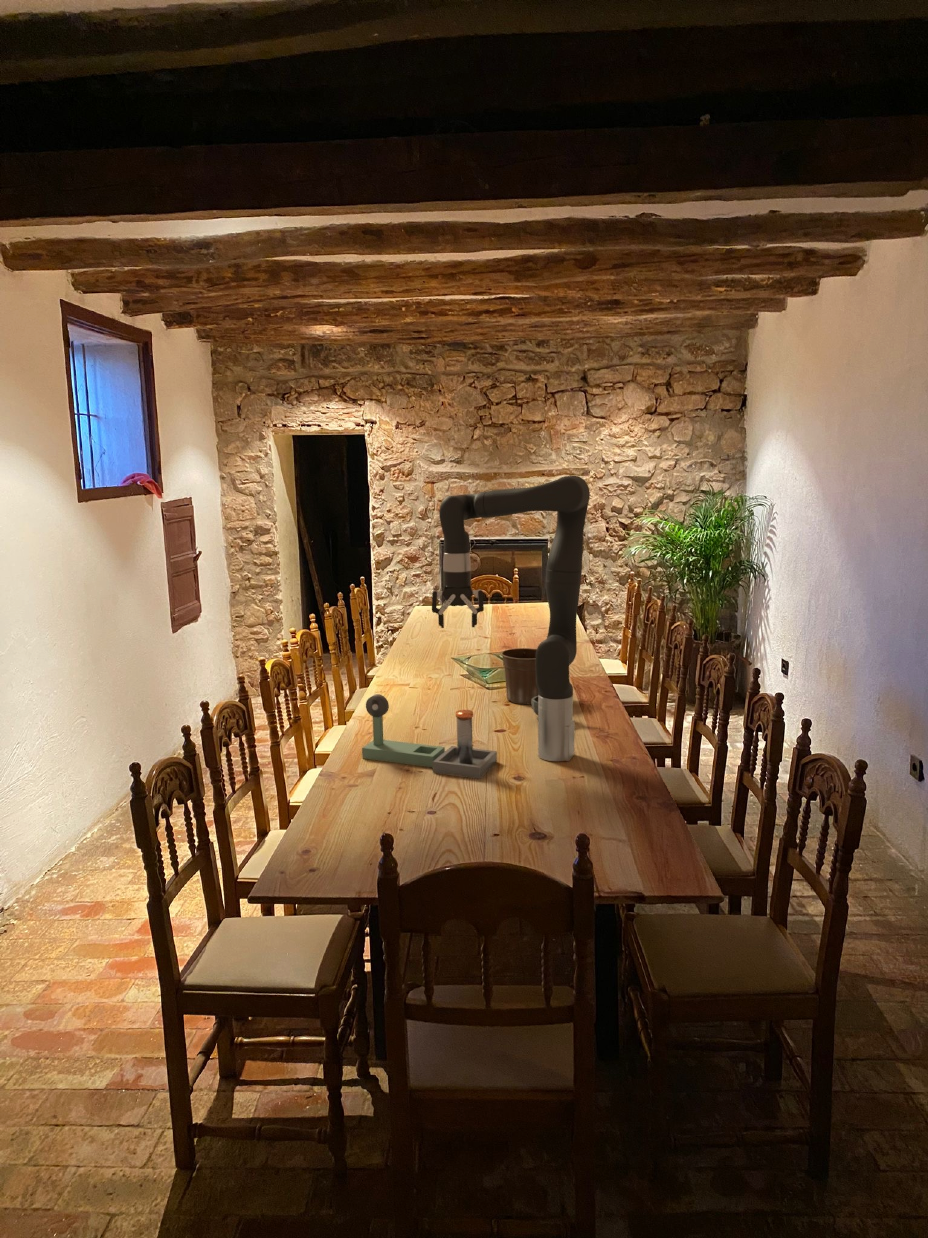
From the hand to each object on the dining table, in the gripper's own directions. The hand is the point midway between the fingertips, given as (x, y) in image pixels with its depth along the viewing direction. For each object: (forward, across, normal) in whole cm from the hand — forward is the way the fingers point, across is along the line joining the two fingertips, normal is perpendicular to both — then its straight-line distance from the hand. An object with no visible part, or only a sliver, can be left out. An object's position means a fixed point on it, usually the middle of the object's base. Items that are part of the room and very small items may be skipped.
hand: (457, 627), depth 235 cm
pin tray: (+34, 0, -18) cm, 39 cm away
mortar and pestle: (+34, +29, +20) cm, 49 cm away
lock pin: (+33, 0, -18) cm, 38 cm away
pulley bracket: (+34, -16, -9) cm, 39 cm away
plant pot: (+34, +25, +44) cm, 61 cm away
